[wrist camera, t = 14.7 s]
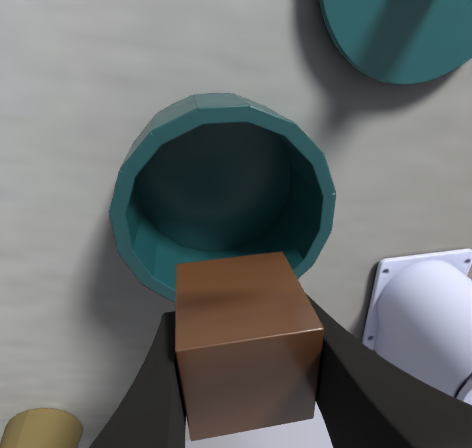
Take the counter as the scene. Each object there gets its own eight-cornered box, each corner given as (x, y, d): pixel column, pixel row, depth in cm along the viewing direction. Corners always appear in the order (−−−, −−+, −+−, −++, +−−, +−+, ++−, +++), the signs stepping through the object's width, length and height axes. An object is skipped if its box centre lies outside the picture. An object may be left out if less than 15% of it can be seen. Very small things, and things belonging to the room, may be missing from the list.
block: (279, 328, 15) (313, 419, 12) (187, 342, 15) (190, 442, 11) (282, 250, 13) (325, 328, 10) (175, 263, 13) (175, 351, 9)
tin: (294, 248, 23) (324, 296, 19) (143, 264, 22) (133, 322, 17) (304, 88, 18) (348, 99, 14) (110, 98, 17) (85, 113, 12)
